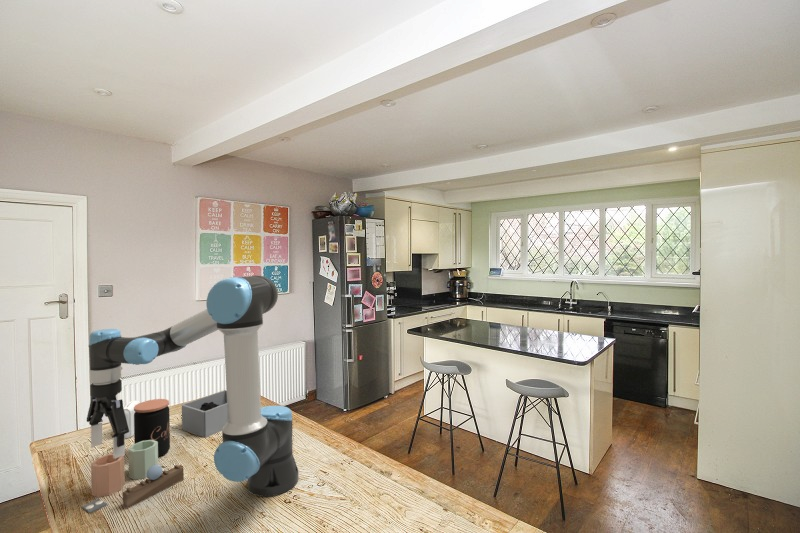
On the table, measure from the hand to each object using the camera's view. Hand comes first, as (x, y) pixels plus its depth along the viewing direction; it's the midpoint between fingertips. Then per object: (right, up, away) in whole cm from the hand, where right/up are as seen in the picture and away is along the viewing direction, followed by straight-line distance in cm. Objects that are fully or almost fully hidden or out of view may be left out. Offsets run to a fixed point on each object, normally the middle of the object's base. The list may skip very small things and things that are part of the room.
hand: (107, 450), depth 116 cm
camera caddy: (+11, -11, +46) cm, 48 cm away
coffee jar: (0, -11, +21) cm, 24 cm away
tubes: (+4, -12, +2) cm, 12 cm away
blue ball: (+15, -8, -1) cm, 17 cm away
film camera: (+10, -11, +45) cm, 47 cm away
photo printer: (-19, -11, +38) cm, 44 cm away
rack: (+15, -12, -1) cm, 19 cm away
